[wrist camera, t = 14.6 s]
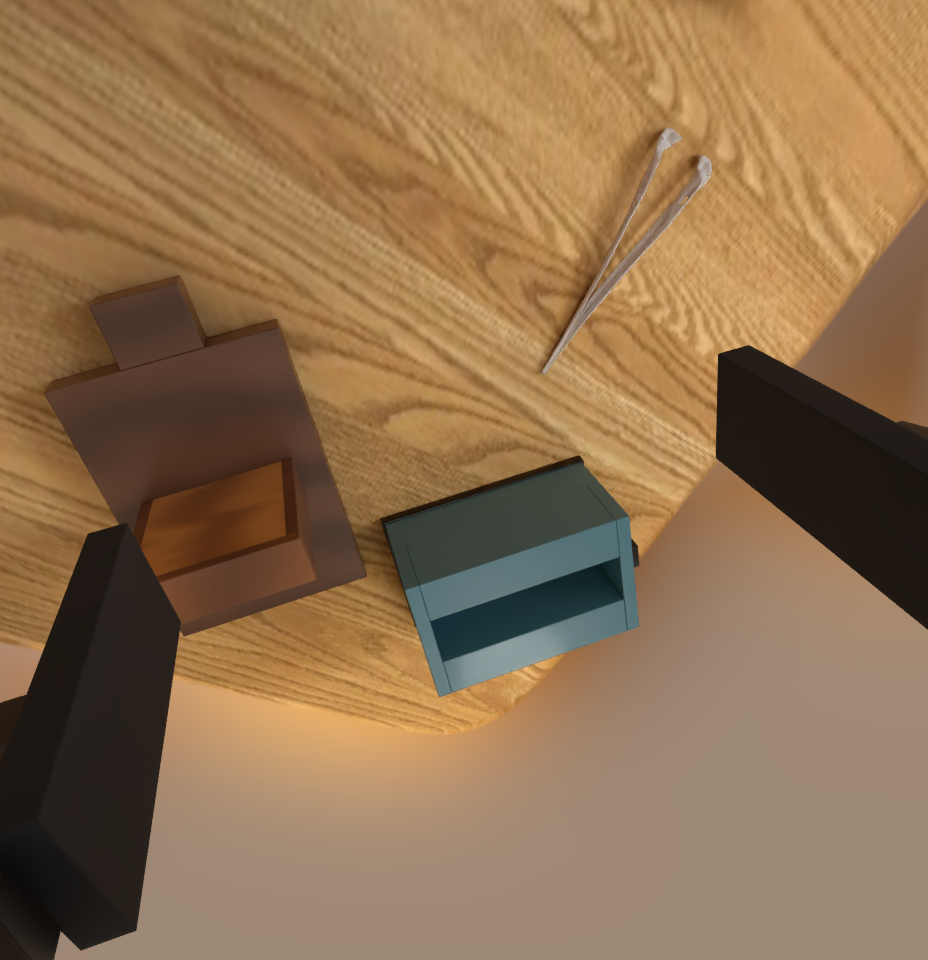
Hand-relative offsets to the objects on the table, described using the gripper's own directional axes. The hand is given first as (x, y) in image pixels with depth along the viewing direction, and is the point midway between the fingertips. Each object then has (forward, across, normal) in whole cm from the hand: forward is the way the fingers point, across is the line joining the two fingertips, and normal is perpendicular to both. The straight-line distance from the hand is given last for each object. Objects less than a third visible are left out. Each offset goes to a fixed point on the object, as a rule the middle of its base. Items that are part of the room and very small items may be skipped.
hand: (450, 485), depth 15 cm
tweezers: (+32, +18, -6) cm, 37 cm away
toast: (+29, -11, -15) cm, 35 cm away
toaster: (+31, +6, -26) cm, 41 cm away
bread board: (+31, -11, -13) cm, 36 cm away
